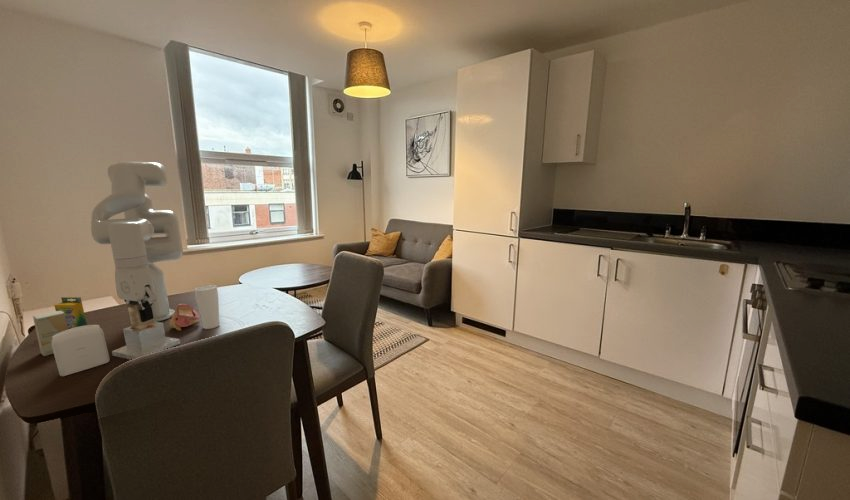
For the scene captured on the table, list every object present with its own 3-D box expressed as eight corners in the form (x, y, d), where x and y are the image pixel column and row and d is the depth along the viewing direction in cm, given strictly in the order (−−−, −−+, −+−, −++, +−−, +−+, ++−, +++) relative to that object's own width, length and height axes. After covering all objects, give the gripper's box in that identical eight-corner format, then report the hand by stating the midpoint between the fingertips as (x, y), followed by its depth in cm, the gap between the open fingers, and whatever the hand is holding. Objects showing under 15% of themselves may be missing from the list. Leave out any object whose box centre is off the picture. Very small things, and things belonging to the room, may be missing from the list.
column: (135, 346, 104) (126, 304, 101) (149, 340, 108) (141, 299, 105) (144, 348, 102) (136, 305, 100) (158, 342, 106) (150, 301, 104)
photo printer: (59, 378, 90) (49, 336, 87) (58, 373, 92) (48, 331, 90) (111, 363, 97) (102, 323, 95) (108, 358, 100) (100, 319, 98)
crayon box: (59, 330, 120) (52, 300, 117) (68, 327, 122) (61, 297, 120) (79, 330, 119) (72, 299, 117) (88, 327, 122) (81, 297, 120)
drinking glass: (211, 331, 118) (205, 291, 115) (195, 329, 119) (189, 290, 116) (226, 323, 124) (221, 285, 121) (211, 322, 126) (205, 284, 123)
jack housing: (112, 355, 101) (107, 329, 100) (154, 338, 113) (150, 315, 111) (140, 361, 98) (134, 335, 96) (180, 343, 109) (176, 319, 107)
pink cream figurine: (163, 335, 117) (161, 311, 121) (191, 337, 125) (188, 314, 130) (182, 322, 115) (179, 298, 119) (208, 325, 124) (206, 303, 128)
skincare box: (43, 356, 101) (34, 319, 99) (40, 353, 103) (30, 316, 101) (73, 348, 107) (65, 312, 104) (69, 344, 109) (61, 309, 106)
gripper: (98, 263, 99) (109, 321, 102) (136, 267, 94) (148, 327, 97) (126, 258, 106) (137, 312, 109) (164, 261, 101) (173, 318, 104)
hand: (142, 318), depth 103 cm, fingers closed on column, 4 cm apart
